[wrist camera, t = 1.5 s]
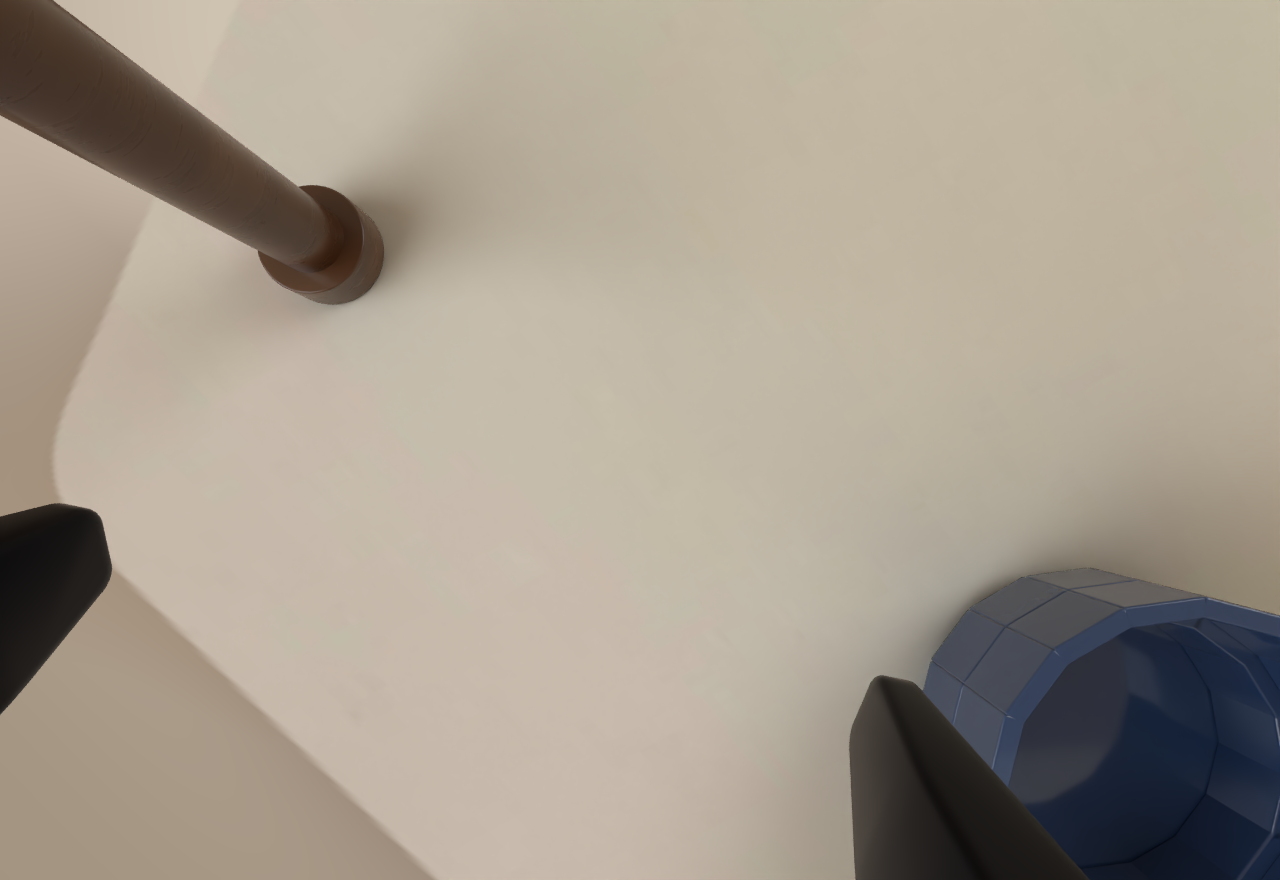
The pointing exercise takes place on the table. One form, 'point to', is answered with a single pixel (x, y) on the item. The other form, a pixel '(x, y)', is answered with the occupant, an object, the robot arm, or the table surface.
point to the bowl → (1126, 721)
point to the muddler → (177, 153)
